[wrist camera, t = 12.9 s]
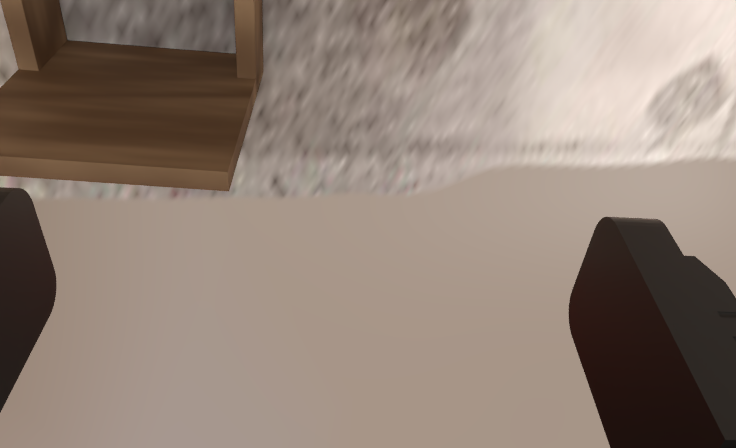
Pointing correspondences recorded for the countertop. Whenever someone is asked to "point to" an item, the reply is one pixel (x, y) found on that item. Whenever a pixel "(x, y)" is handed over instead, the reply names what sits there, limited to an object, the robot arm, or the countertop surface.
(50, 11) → the open box
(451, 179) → the countertop surface
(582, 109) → the countertop surface
